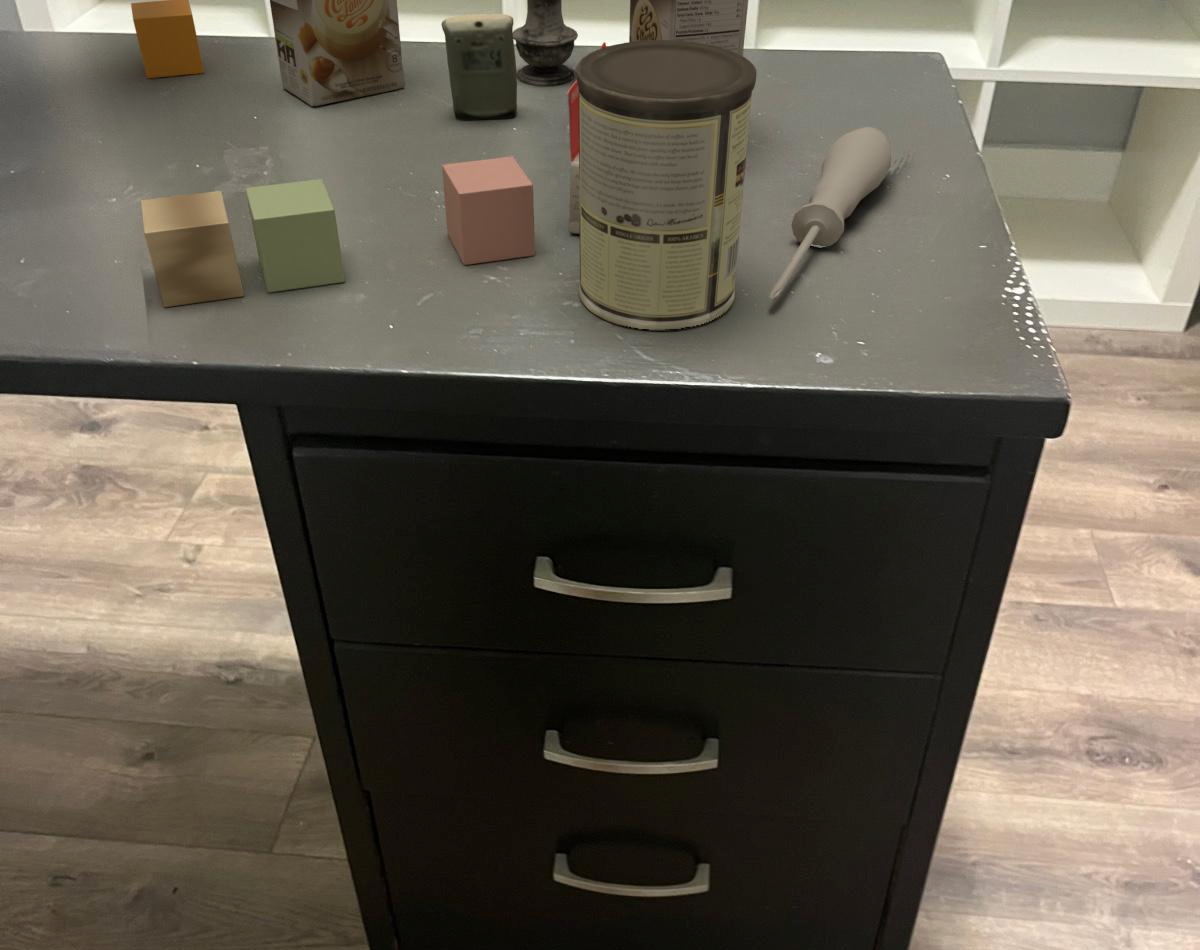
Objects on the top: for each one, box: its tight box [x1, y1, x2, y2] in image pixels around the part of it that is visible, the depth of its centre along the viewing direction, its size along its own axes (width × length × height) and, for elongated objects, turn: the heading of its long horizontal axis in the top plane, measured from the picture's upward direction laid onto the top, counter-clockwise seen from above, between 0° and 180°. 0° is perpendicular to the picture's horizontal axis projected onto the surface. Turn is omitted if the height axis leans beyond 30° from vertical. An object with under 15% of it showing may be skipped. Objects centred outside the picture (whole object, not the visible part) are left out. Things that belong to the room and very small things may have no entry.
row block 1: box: [140, 190, 245, 308], centre depth 75 cm, size 5×5×5 cm
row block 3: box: [441, 156, 536, 266], centre depth 80 cm, size 5×5×5 cm
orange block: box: [130, 0, 205, 79], centre depth 106 cm, size 5×5×5 cm
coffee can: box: [575, 40, 758, 331], centre depth 72 cm, size 10×10×14 cm
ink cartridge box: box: [566, 41, 607, 235], centre depth 83 cm, size 2×11×10 cm, turn 167°
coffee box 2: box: [628, 0, 749, 57], centre depth 91 cm, size 9×6×16 cm
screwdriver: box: [768, 126, 892, 301], centre depth 82 cm, size 5×25×4 cm, turn 156°
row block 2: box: [245, 178, 346, 293], centre depth 77 cm, size 5×5×5 cm
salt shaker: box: [512, 0, 579, 87], centre depth 103 cm, size 6×6×12 cm
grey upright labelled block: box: [441, 13, 518, 121], centre depth 97 cm, size 6×5×8 cm
